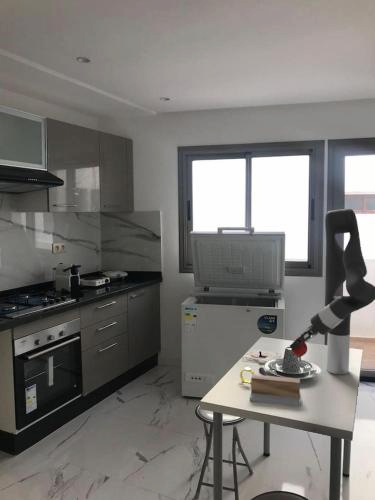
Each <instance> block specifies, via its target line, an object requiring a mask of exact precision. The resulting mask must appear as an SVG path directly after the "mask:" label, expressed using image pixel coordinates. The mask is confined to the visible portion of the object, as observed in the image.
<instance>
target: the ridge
mask: <svg viewBox="0 0 375 500" xmlns="http://www.w3.org/2000/svg"><path fill="white" fill-rule="evenodd" d="M254 374H255V373H254ZM254 374H252V373H251V379H250V380H251V383H250V387H251V388H250V394H251V393H256V394H265V395H275V396H284V397H293V398H300V395H301V394H300V393H301V392H300V389H301V379H300V378H295V377H294V378H293V377H284V376H272V375H269V376H264V375H263V374H255V375H254Z"/></svg>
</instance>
